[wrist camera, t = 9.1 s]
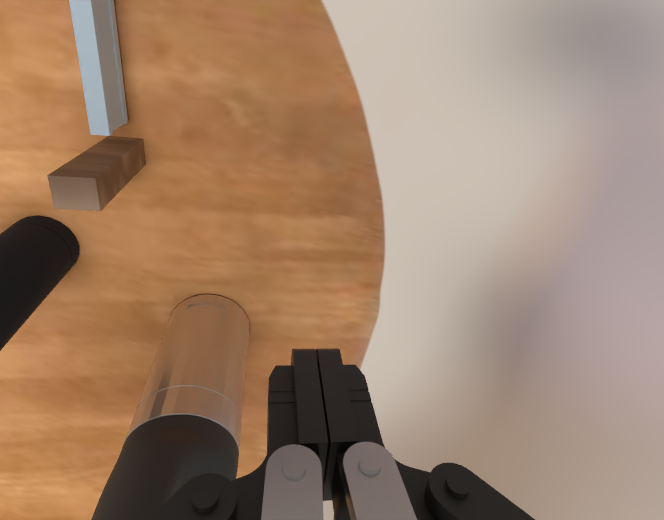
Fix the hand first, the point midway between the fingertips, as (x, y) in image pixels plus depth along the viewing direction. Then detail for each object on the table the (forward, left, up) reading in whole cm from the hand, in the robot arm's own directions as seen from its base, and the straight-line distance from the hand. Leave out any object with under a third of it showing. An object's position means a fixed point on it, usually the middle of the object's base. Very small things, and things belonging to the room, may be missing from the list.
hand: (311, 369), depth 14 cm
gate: (+8, +15, -31) cm, 35 cm away
